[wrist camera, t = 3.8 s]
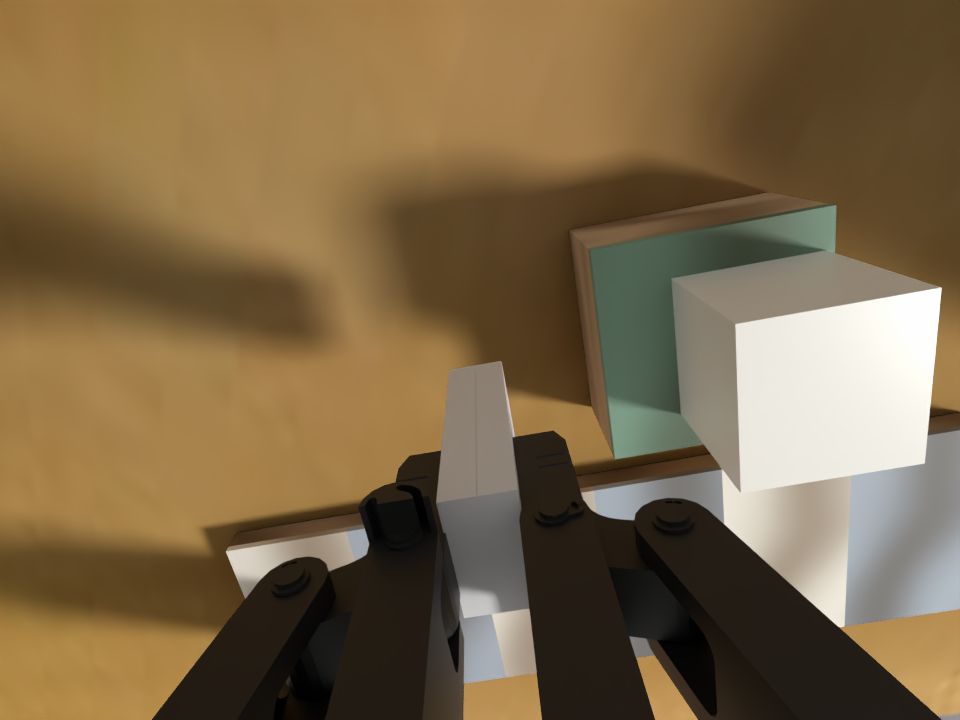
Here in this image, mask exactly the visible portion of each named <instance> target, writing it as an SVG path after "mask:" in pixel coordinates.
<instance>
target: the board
mask: <svg viewBox="0 0 960 720" xmlns="http://www.w3.org/2000/svg"><path fill="white" fill-rule="evenodd" d="M576 477H577V481H578V484H579V487H580V491H581V494H582V497H583V500H584V501H585V502H586V504H587V505H588V506H589V508H590V509H591V510H592V511H594V512H596V513H597V514H599V515H602V516H605V517H609V518H614V519H623V520H634V519H635V513H636V512H637V511H638V510H639V509H640V508H641V507H642V506H643V505H645V504H647V503H649V502H651V501H653V500H658V499H664V498H683V499H686V500H690V501H693V502H697V503H698V504H700V505H701V506H703V507H705V508H706V509H708V510H709V511H710V512H711V513H712V514H713V515H714V516H716V517H717V518H718V519H719V520H720V521H721V522H722V523H723V524H724V525H726V526H727V527H728V528H729V529H730V530H731V531H732V532H733V533H734V534H736V535H737V536H738V537H739V538H740V539H741V540H742V541H743V542H744V543H746V544H747V545H748V546H749V547H750V548H751V549H752V550H753V551H754V552H756V553H757V554H758V555H759V556H760V557H761V558H762V559H763V560H764V561H766V562H767V563H768V564H769V565H770V566H771V567H772V568H773V569H775V570H776V571H777V572H778V573H779V574H780V575H781V576H782V577H783V578H785V579H786V580H787V581H788V582H789V583H790V584H791V585H792V586H793V587H795V588H796V589H797V590H798V591H799V592H800V593H801V594H802V595H803V596H805V597H806V598H807V599H808V600H809V601H810V602H811V603H812V604H813V605H815V606H816V607H817V608H818V609H819V610H820V611H821V612H822V613H823V614H825V615H826V616H827V617H828V618H829V619H830V620H831V621H832V622H833V623H835V624H836V625H837V626H838V627H844V626H851V625H857V624H864V623H871V622H877V621H884V620H891V619H897V618H904V617H911V616H917V615H924V614H930V613H937V612H944V611H950V610H957V609H960V412H959V413H953V414H947V415H941V416H935V417H929V424H928V435H927V445H926V456H925V464H919V465H913V466H907V467H900V468H894V469H888V470H882V471H876V472H870V473H864V474H857V475H851V476H845V477H839V478H833V479H827V480H821V481H815V482H808V483H802V484H796V485H790V486H784V487H778V488H772V489H765V490H759V491H753V492H747V493H740V492H739V490H738V489H737V488H736V487H735V485H734V484H733V483H732V481H731V480H730V479H729V477H728V476H727V475H726V473H725V472H724V471H723V469H722V468H721V467H720V465H719V464H718V463H717V461H716V460H715V459H714V457H713V456H712V455H711V454H707V455H701V456H695V457H689V458H683V459H677V460H671V461H665V462H659V463H653V464H647V465H641V466H635V467H629V468H623V469H617V470H611V471H605V472H599V473H593V474H587V475H581V476H576ZM368 547H369V541H368V538H367V535H366V531H365V528H364V525H363V521H362V518H361V514H360V512H359V513H353V514H347V515H341V516H335V517H329V518H323V519H317V520H311V521H305V522H299V523H293V524H287V525H281V526H275V527H269V528H263V529H257V530H251V531H245V532H239V533H236V535H235V537H234V538H233V540H232V542H231V543H230V545H229V547H228V549H227V550H226V553H227V556H228V558H229V561H230V563H231V566H232V568H233V570H234V573H235V575H236V578H237V580H238V583H239V585H240V587H241V590H242V592H243V595H244V597H245V599H246V597H247V596H248V595H249V594H250V592H251V591H252V590H253V588H254V587H255V586H256V584H257V583H258V582H259V581H260V580H261V579H262V578H263V577H264V576H265V575H266V574H267V573H268V572H269V571H270V570H272V569H273V568H275V567H277V566H278V565H280V564H281V563H284V562H286V561H289V560H292V559H295V558H300V557H308V556H310V557H315V558H320V559H321V560H322V561H324V562H325V563H326V564H327V567H328V570H329V571H331V570H334V569H336V568H339V567H342V566H344V565H347V564H349V563H352V562H354V561H356V560H358V559H360V558H362V557H363V556H365V555H366V554H367V551H368ZM459 620H460V624H461V628H462V632H463V636H464V684H465V683H472V682H479V681H485V680H492V679H499V678H505V677H512V676H519V675H525V674H532V673H537V670H536V662H535V653H534V644H533V636H532V627H531V618H530V610H529V609H523V610H516V611H510V612H503V613H496V614H490V615H483V616H476V617H469V618H464V616H463V612H462V608H461V604H460V615H459ZM629 637H630V636H629ZM630 640H631V643H632V647H633V650H634V653H635V656H636V658H638V657H645V656H651V655H654V653H653V652H652V650H651V649H650V647H649V644H648V642H647V639H645V638H638V637H630Z"/></svg>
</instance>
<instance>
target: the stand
mask: <svg viewBox="0 0 960 720" xmlns="http://www.w3.org/2000/svg"><path fill="white" fill-rule="evenodd" d="M569 235H570V243H571V250H572V258H573V266H574V273H575V281H576V289H577V297H578V304H579V312H580V320H581V328H582V335H583V343H584V351H585V359H586V366H587V374H588V382H589V390H590V397H591V405H592V409H593V411H594V413H595V416H596V418H597V420H598V422H599V425H600V427H601V429H602V431H603V434H604V436H605V438H606V440H607V442H608V445H609V447H610V449H611V451H612V454H613V456H614V458H615V459H620V458H626V457H632V456H638V455H644V454H650V453H656V452H662V451H668V450H674V449H680V448H686V447H692V446H698V445H704V444H703V443H702V441H701V440H700V439H699V437H698V436H697V435H696V433H695V432H694V431H693V430H692V428H691V427H690V426H689V424H688V423H687V422H686V420H685V419H684V418H683V416H682V415H681V408H680V394H679V380H678V365H677V351H676V337H675V323H674V308H673V294H672V280H671V278H676V277H682V276H687V275H693V274H698V273H704V272H709V271H715V270H720V269H726V268H731V267H737V266H742V265H748V264H753V263H759V262H764V261H770V260H775V259H781V258H786V257H792V256H797V255H803V254H808V253H814V252H819V251H825V250H827V251H830V252H834V253H835V238H836V205H834V204H828V203H823V202H818V201H813V200H808V199H802V198H797V197H792V196H787V195H782V194H776V193H771V192H768V193H763V194H757V195H752V196H747V197H741V198H736V199H731V200H725V201H720V202H715V203H709V204H704V205H699V206H693V207H688V208H683V209H677V210H672V211H667V212H661V213H656V214H651V215H645V216H640V217H635V218H629V219H624V220H619V221H613V222H608V223H603V224H597V225H592V226H587V227H581V228H576V229H571V230H569Z"/></svg>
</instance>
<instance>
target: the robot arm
mask: <svg viewBox="0 0 960 720" xmlns="http://www.w3.org/2000/svg"><path fill="white" fill-rule="evenodd" d="M358 508H359V511H360V514H361V518H362V521H363V525H364V528H365V531H366V535H367V538H368V541H369V547H368V551H367V554H366V555H365V556H363V557H362V558H360V559H358V560H356V561H354V562H352V563H349V564H347V565H344V566H342V567H339V568H336V569H334V570H331V571H329V570H328V567H327V564H326V563H325V562H324V561H322V560H321V559H320V558H315V557H310V556H308V557H300V558H295V559H292V560H289V561H286V562H284V563H281V564H280V565H278V566H277V567H275V568H273V569H272V570H270V571H269V572H268V573H267V574H266V575H265V576H264V577H263V578H262V579H261V580H260V581H259V582H258V583H257V584H256V586H255V587H254V588H253V590H252V591H251V592H250V594H249V595H248V596H247V597H246V599H245V600H244V601H243V603H242V604H241V605H240V606H239V608H238V609H237V610H236V612H235V613H234V614H233V615H232V617H231V618H230V619H229V621H228V622H227V623H226V625H225V626H224V627H223V628H222V630H221V631H220V632H219V634H218V635H217V636H216V637H215V639H214V640H213V641H212V643H211V644H210V645H209V646H208V648H207V649H206V650H205V652H204V653H203V654H202V656H201V657H200V658H199V659H198V661H197V662H196V663H195V665H194V666H193V667H192V668H191V670H190V671H189V672H188V674H187V675H186V676H185V677H184V679H183V680H182V681H181V683H180V684H179V685H178V687H177V688H176V689H175V690H174V692H173V693H172V694H171V696H170V697H169V698H168V699H167V701H166V702H165V703H164V705H163V706H162V707H161V708H160V710H159V711H158V712H157V714H156V715H155V716H154V718H153V719H152V720H463V699H464V636H463V632H462V628H461V624H460V620H459V615H460V604H461V608H462V612H463V616H464V618H469V617H476V616H483V615H490V614H496V613H503V612H510V611H516V610H523V609H529V610H530V618H531V627H532V636H533V644H534V653H535V662H536V670H537V679H538V688H539V697H540V705H541V714H542V720H655V718H654V715H653V712H652V708H651V705H650V702H649V699H648V695H647V692H646V689H645V686H644V682H643V679H642V676H641V673H640V669H639V666H638V663H637V660H636V656H635V653H634V650H633V647H632V643H631V640H630V637H638V638H645V639H647V642H648V644H649V647H650V649H651V650H652V652H653V653H654V655H655V656H656V658H657V659H658V661H659V662H660V664H661V665H662V667H663V668H664V670H665V671H666V673H667V674H668V676H669V677H670V679H671V680H672V681H673V683H674V684H675V686H676V687H677V689H678V690H679V692H680V693H681V695H682V696H683V698H684V699H685V701H686V702H687V704H688V705H689V707H690V708H691V710H692V711H693V713H694V714H695V716H696V717H697V719H698V720H941V719H940V718H939V717H938V716H937V715H936V714H935V713H934V712H932V711H931V710H930V709H929V708H928V707H927V706H926V705H925V704H924V703H922V702H921V701H920V700H919V699H918V698H917V697H916V696H915V695H914V694H912V693H911V692H910V691H909V690H908V689H907V688H906V687H905V686H904V685H902V684H901V683H900V682H899V681H898V680H897V679H896V678H895V677H894V676H892V675H891V674H890V673H889V672H888V671H887V670H886V669H885V668H883V667H882V666H881V665H880V664H879V663H878V662H877V661H876V660H875V659H873V658H872V657H871V656H870V655H869V654H868V653H867V652H866V651H865V650H863V649H862V648H861V647H860V646H859V645H858V644H857V643H856V642H855V641H853V640H852V639H851V638H850V637H849V636H848V635H847V634H846V633H845V632H843V631H842V630H841V629H840V628H839V627H838V626H837V625H836V624H835V623H833V622H832V621H831V620H830V619H829V618H828V617H827V616H826V615H825V614H823V613H822V612H821V611H820V610H819V609H818V608H817V607H816V606H815V605H813V604H812V603H811V602H810V601H809V600H808V599H807V598H806V597H805V596H803V595H802V594H801V593H800V592H799V591H798V590H797V589H796V588H795V587H793V586H792V585H791V584H790V583H789V582H788V581H787V580H786V579H785V578H783V577H782V576H781V575H780V574H779V573H778V572H777V571H776V570H775V569H773V568H772V567H771V566H770V565H769V564H768V563H767V562H766V561H764V560H763V559H762V558H761V557H760V556H759V555H758V554H757V553H756V552H754V551H753V550H752V549H751V548H750V547H749V546H748V545H747V544H746V543H744V542H743V541H742V540H741V539H740V538H739V537H738V536H737V535H736V534H734V533H733V532H732V531H731V530H730V529H729V528H728V527H727V526H726V525H724V524H723V523H722V522H721V521H720V520H719V519H718V518H717V517H716V516H714V515H713V514H712V513H711V512H710V511H709V510H708V509H706V508H705V507H703V506H701V505H700V504H698V503H697V502H693V501H690V500H686V499H683V498H664V499H658V500H653V501H651V502H649V503H647V504H645V505H643V506H642V507H641V508H640V509H639V510H638V511H637V512H636V513H635V519H634V520H623V519H614V518H609V517H605V516H602V515H599V514H597V513H596V512H594V511H592V510H591V509H590V508H589V506H588V505H587V504H586V502H585V501H584V500H583V497H582V494H581V491H580V487H579V484H578V481H577V477H576V474H575V471H574V467H573V464H572V461H571V457H570V454H569V451H568V448H567V444H566V441H565V439H564V438H562V437H561V436H560V435H558V434H557V433H556V432H554V431H548V432H542V433H536V434H530V435H524V436H518V437H515V434H514V428H513V423H512V417H511V412H510V406H509V400H508V395H507V389H506V384H505V378H504V372H503V367H502V361H497V362H491V363H485V364H480V365H474V366H468V367H462V368H456V369H450V371H449V380H448V390H447V400H446V410H445V420H444V430H443V439H442V449H441V451H436V452H430V453H424V454H418V455H412V456H409V457H408V458H407V459H406V461H405V462H404V463H403V464H402V465H401V466H400V468H399V469H398V474H397V478H396V482H395V483H391V484H388V485H384V486H382V487H380V488H378V489H376V490H374V491H372V492H371V493H370V494H369V495H367V496H366V497H365V498H364V499H363V500H362V502H361V504H360V505H359V507H358ZM629 636H630V637H629Z"/></svg>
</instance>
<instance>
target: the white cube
mask: <svg viewBox="0 0 960 720" xmlns="http://www.w3.org/2000/svg"><path fill="white" fill-rule="evenodd" d="M671 280H672V294H673V308H674V323H675V337H676V351H677V365H678V380H679V394H680V408H681V415H682V416H683V418H684V419H685V420H686V422H687V423H688V424H689V426H690V427H691V428H692V430H693V431H694V432H695V433H696V435H697V436H698V437H699V439H700V440H701V441H702V443H703V444H704V445H705V447H706V448H707V449H708V451H709V452H710V453H711V455H712V456H713V457H714V459H715V460H716V461H717V463H718V464H719V465H720V467H721V468H722V469H723V471H724V472H725V473H726V475H727V476H728V477H729V479H730V480H731V481H732V483H733V484H734V485H735V487H736V488H737V489H738V490H739V492H740V493H747V492H753V491H759V490H765V489H772V488H778V487H784V486H790V485H796V484H802V483H808V482H815V481H821V480H827V479H833V478H839V477H845V476H851V475H857V474H864V473H870V472H876V471H882V470H888V469H894V468H900V467H907V466H913V465H919V464H925V456H926V445H927V435H928V424H929V414H930V404H931V393H932V383H933V372H934V362H935V351H936V341H937V331H938V320H939V310H940V299H941V289H942V288H941V287H938V286H935V285H932V284H929V283H926V282H923V281H920V280H917V279H914V278H910V277H907V276H904V275H901V274H898V273H895V272H892V271H889V270H886V269H883V268H880V267H877V266H874V265H870V264H867V263H864V262H861V261H858V260H855V259H852V258H849V257H846V256H843V255H840V254H837V253H834V252H830V251H827V250H825V251H819V252H814V253H808V254H803V255H797V256H792V257H786V258H781V259H775V260H770V261H764V262H759V263H753V264H748V265H742V266H737V267H731V268H726V269H720V270H715V271H709V272H704V273H698V274H693V275H687V276H682V277H676V278H671Z"/></svg>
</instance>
